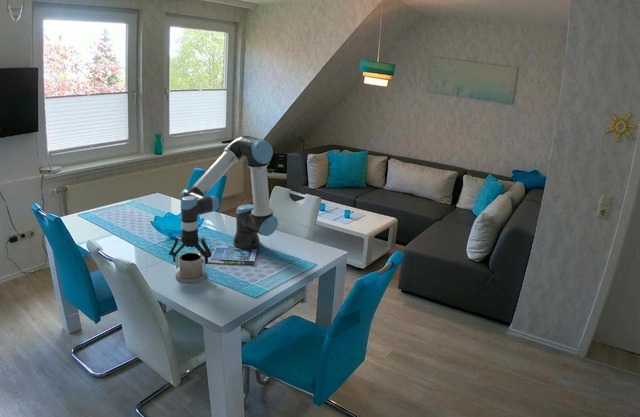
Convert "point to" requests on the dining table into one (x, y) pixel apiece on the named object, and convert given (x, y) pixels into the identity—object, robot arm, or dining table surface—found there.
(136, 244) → the dining table surface
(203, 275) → the saucer
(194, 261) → the planter
